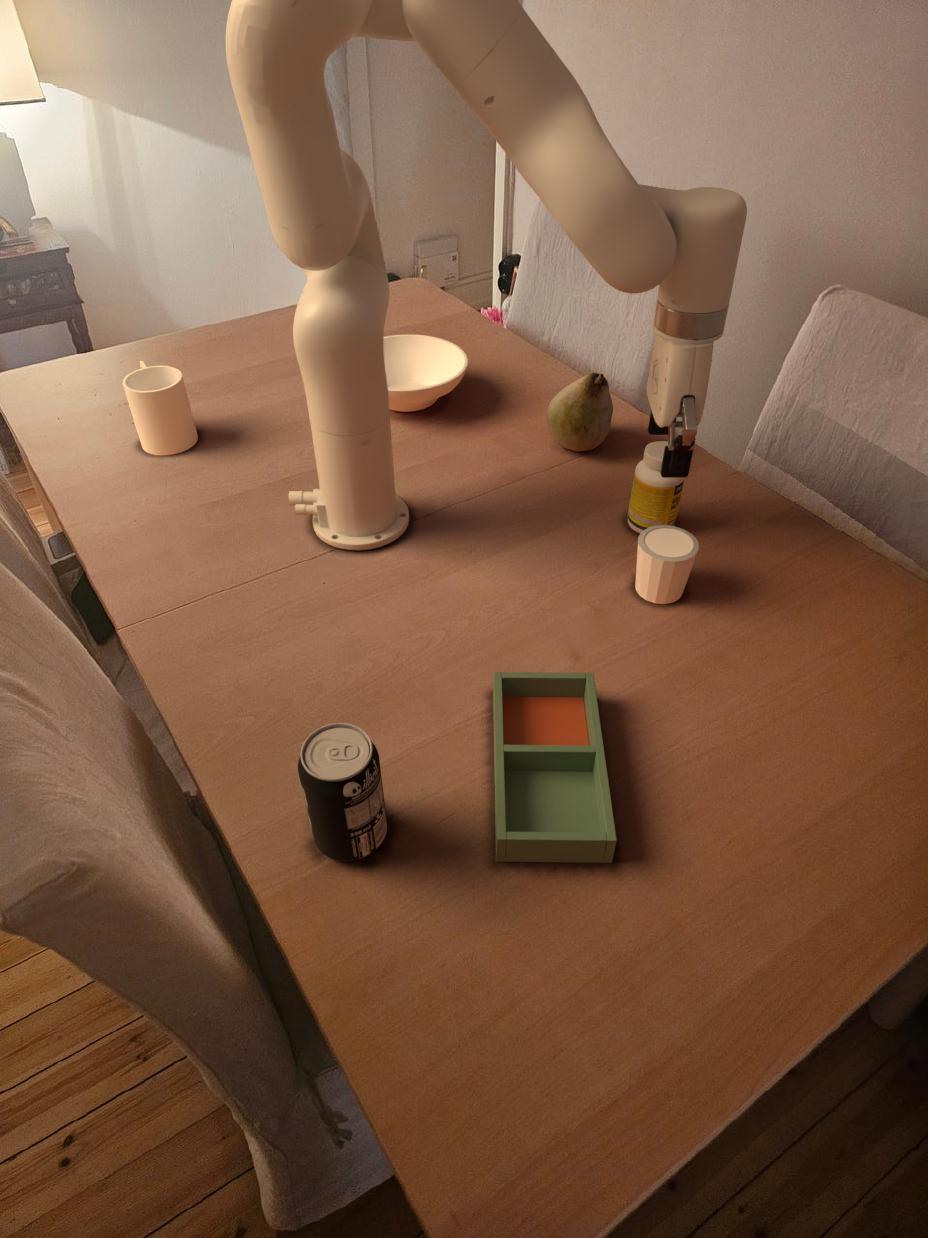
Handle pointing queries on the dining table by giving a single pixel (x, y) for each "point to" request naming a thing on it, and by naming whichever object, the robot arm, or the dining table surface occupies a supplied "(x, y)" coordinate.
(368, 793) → the beverage can
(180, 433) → the cup
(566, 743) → the tray
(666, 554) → the cream faceted tub
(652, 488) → the pill bottle
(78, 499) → the dining table surface
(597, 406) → the fruit
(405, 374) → the bowl
